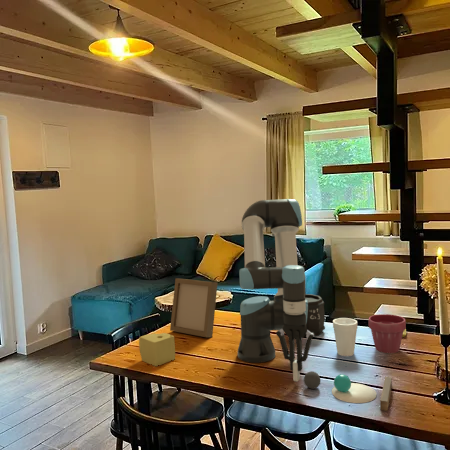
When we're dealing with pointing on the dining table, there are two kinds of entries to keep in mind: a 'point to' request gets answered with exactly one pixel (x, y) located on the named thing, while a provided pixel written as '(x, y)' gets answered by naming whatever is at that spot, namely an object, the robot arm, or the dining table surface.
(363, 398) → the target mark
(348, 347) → the foam cup
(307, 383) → the gray ball
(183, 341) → the dining table surface
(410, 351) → the dining table surface
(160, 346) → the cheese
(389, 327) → the plant pot
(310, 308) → the black lettered pot
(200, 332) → the photo frame
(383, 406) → the rail
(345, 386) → the object ball
